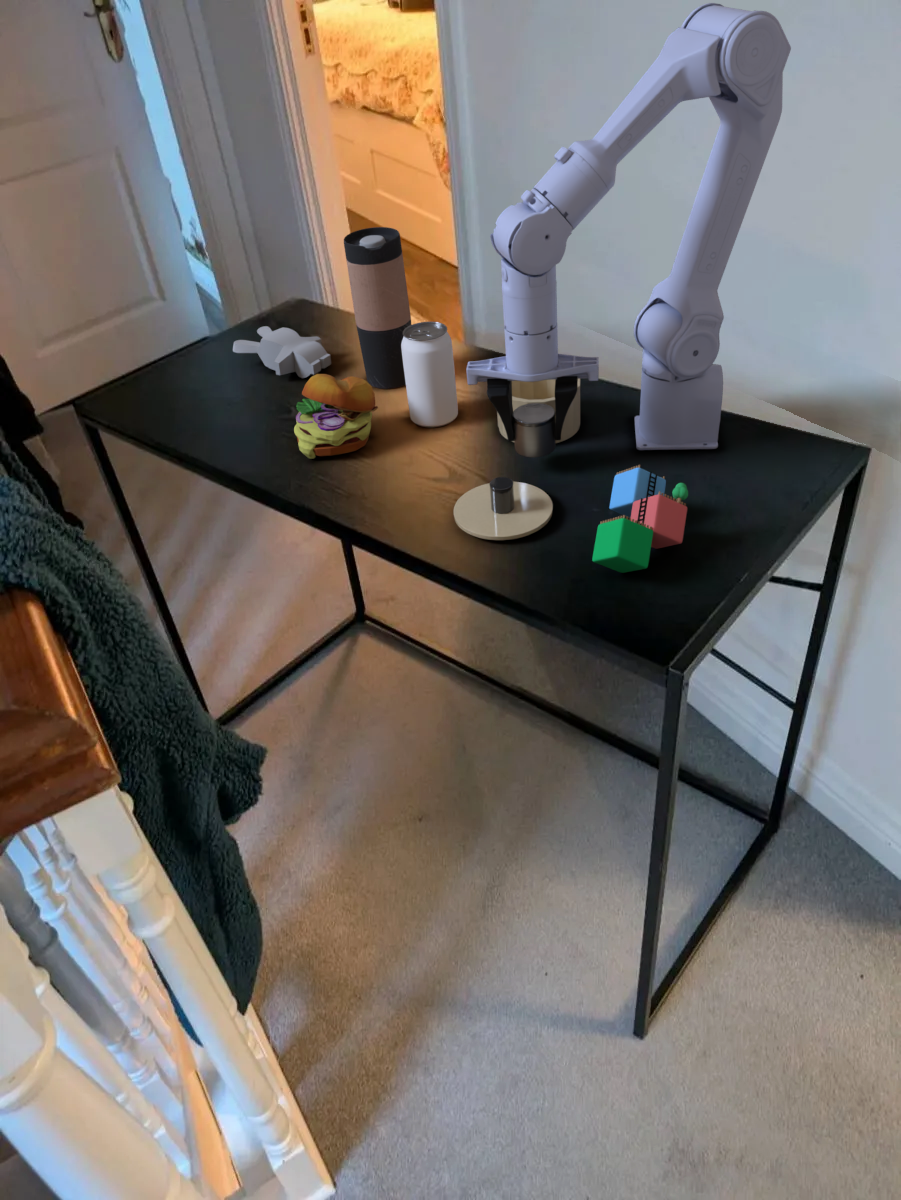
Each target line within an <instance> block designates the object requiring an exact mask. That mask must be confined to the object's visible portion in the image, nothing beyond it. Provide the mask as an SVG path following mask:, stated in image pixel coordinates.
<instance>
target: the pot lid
mask: <svg viewBox="0 0 901 1200" xmlns="http://www.w3.org/2000/svg"><path fill="white" fill-rule="evenodd" d="M553 513H554V503H553V500H552V498H551V497H550V496H549V494H547V492H545V490H543V489H541V488H539V487H538V486H535V485H533V484H529V483H526V482H521V481H520V482H519V481H514V480H513V479H511V478H510V477H507V476H499V477H495V478H493V479H492V480H491V481H490V482H489V483H488V482H487V483H484V484H481V485H478V486H476V487H473V488H471V489H469V490H468V491H466V492H464V494H462V495H461V496H460V497H459V498H458V499H457V501H455V504H454V507H453V519H454V522H455V523H456V525H457V527H458V528H459V529H460V530H462V531H463V532H465V533H466V534H468V535H470V536H473V537H476V538H479V539H483V540H489V541H509V540H517V539H520V538H524V537H527V536H530V535H532V534H534V533H536V532H539V531H540V530H541V529H542V528H544V527H545V526H546V525H547V524H548V523H549V521H550V520H551V519H552V516H553Z"/></svg>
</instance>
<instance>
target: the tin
mask: <svg viewBox="0 0 901 1200" xmlns="http://www.w3.org/2000/svg"><path fill="white" fill-rule="evenodd" d="M512 416H513V426H514V442H513V443H514V450H515V452H516V453H517V454H518V455H520V456H522V457H526V458H534V459H535V458H542V457H546V456H548V455H550V454H552V453H553V452H554V451H555V450H556V443H555V436H554V433H555V410H554V409H553V408H552V407H551V406H549V405H546V404H541V403H531V404H525V405H522V406H520V407H518V408H516V409H515V410H514V411H513V414H512Z"/></svg>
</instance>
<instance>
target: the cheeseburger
mask: <svg viewBox="0 0 901 1200" xmlns="http://www.w3.org/2000/svg"><path fill="white" fill-rule="evenodd" d="M301 395H302V396H303V397H305V398H302V400H301V401H302V402H301V401H297V403H296V405H295V407H296V411H297V412H298V413H297V414H296V415H295V421H296V424H295V425H294V428H293V432H294V435H295V436H296V440H297V443H298V444H297V445H298V449H299V451H300V452H301V453H302V454H303V456H305V457H307V459H311V460H312V459H313V460H314V459H316V458H317V456H318V457H331V456H332V457H333V456H338V455H344V454H349V453H353V452H356V451H358V450H360V449H361V448H363V447H364V446H366V445H367V442H368V440H369V438H370V437H369V436H370V432H371V429H372V419H373V418H372V417H373V412H375V411H376V410H378V409H379V407H378V406H377V405H376V394H375V391H374V389H373V386H371V385H370V384H369V383H368V381H367V380H366V379H363V378H362V377H359V376H358V377H357V376H347V377H344V378H343V379H336V378H335V377H334V376H332V375H330V374H327V373H316V374H314V375H311V377H310V378H309V379H308V380H307V382H306V383H305V384H304V387H303V389H302V391H301Z"/></svg>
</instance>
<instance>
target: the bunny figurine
mask: <svg viewBox="0 0 901 1200" xmlns="http://www.w3.org/2000/svg"><path fill="white" fill-rule="evenodd" d="M256 332H257V333H256V334H258V335H259V336H260V337H261V339H260V342H259V341H253V340H248V339H238V340H235V341H233V343H232V344H233V345H232V352H233V353H236V354H258V356H259V358H260V360H261V362H262V363H263V365H264V366H265V367H266V368H268V369H270V370H273V371H275V375H276V376H282V375H287V374H291V373H296V375H297V376H298V377H299V378H301V379H305V378H309V376H314V375H316V374H319V373H320V372H321V371H322V369H326V368H327V367H329V366H331V365H332V356H331V354H330V353H328V352H327V351H326V349H325V347H324V346H323V344H322V338H320V337H319V336H318V335H317V336H316V335H315V336H301V335H299V333H298V332H297V331H295V330H294V329H293V328H289V327H279V328H278V329H275V330H272V329H271V327H270V326H267V325H265V326H261V327H258V329H257V330H256Z"/></svg>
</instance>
